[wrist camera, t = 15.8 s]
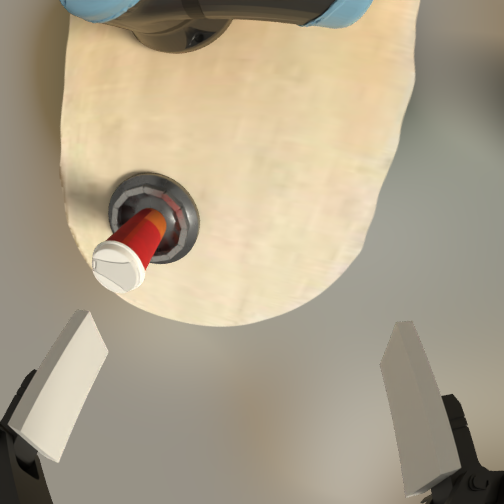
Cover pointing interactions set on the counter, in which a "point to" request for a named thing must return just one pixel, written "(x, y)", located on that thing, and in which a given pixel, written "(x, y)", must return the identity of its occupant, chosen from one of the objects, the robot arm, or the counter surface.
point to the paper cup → (129, 251)
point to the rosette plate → (167, 203)
